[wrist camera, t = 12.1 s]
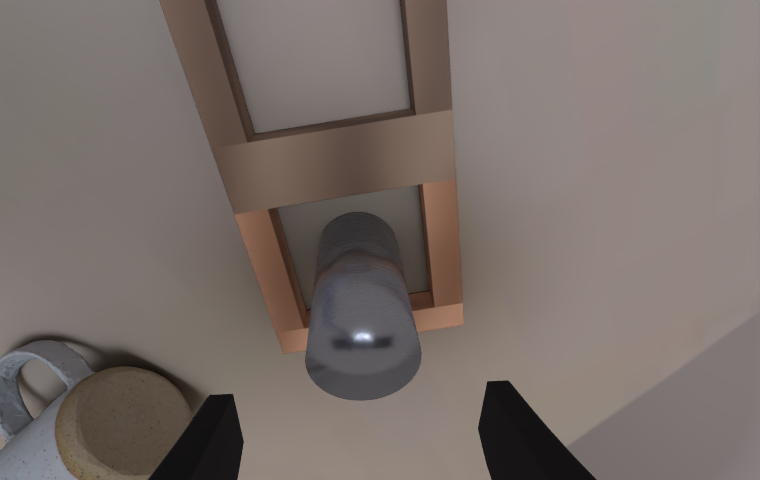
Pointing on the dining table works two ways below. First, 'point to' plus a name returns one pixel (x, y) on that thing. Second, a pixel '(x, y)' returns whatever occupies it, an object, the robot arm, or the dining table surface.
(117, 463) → the ceramic mug
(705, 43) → the dining table surface
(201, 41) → the rail
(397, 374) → the metal peg
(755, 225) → the dining table surface
